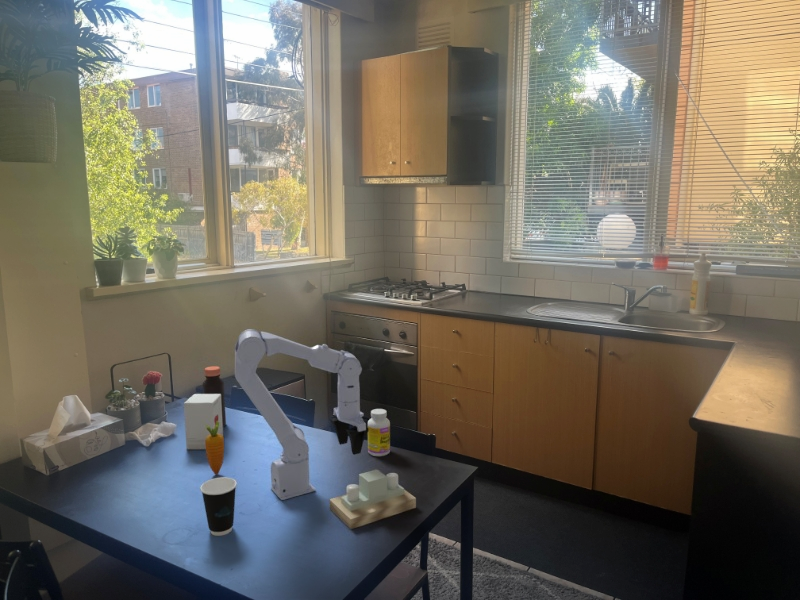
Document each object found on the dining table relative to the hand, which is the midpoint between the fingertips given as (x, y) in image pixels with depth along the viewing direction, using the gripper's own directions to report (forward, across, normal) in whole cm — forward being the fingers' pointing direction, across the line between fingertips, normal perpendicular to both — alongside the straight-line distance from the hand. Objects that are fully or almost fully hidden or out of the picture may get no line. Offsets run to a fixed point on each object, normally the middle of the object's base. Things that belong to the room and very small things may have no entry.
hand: (349, 448), depth 158 cm
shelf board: (+9, -16, +2) cm, 18 cm away
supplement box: (+10, +47, +26) cm, 55 cm away
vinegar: (+10, +61, +19) cm, 65 cm away
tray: (+7, -16, +2) cm, 17 cm away
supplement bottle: (+10, +12, -16) cm, 22 cm away
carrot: (+10, +24, +29) cm, 39 cm away
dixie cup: (+10, -5, +36) cm, 38 cm away
